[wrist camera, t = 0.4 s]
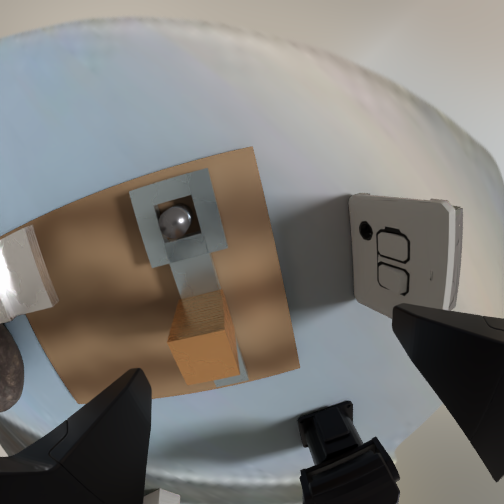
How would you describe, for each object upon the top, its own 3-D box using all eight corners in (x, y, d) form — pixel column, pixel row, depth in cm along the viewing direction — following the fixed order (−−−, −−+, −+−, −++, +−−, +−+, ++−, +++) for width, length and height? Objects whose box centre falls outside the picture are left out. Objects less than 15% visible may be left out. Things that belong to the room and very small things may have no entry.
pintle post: (196, 225, 19) (191, 234, 16) (172, 231, 19) (163, 242, 16) (189, 200, 19) (183, 204, 16) (165, 207, 19) (155, 213, 16)
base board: (297, 361, 25) (300, 367, 24) (81, 398, 24) (78, 403, 23) (250, 147, 19) (252, 146, 18) (3, 235, 18) (-3, 238, 17)
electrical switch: (345, 193, 21) (430, 206, 12) (393, 186, 22) (476, 197, 13) (351, 299, 24) (419, 352, 15) (395, 284, 25) (464, 324, 16)
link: (133, 190, 18) (94, 198, 12) (208, 168, 18) (202, 163, 12) (202, 381, 23) (200, 438, 16) (261, 367, 23) (275, 424, 16)
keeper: (73, 288, 20) (46, 312, 15) (22, 302, 19) (-4, 324, 15) (49, 218, 18) (16, 230, 13) (0, 242, 17) (-31, 256, 13)
